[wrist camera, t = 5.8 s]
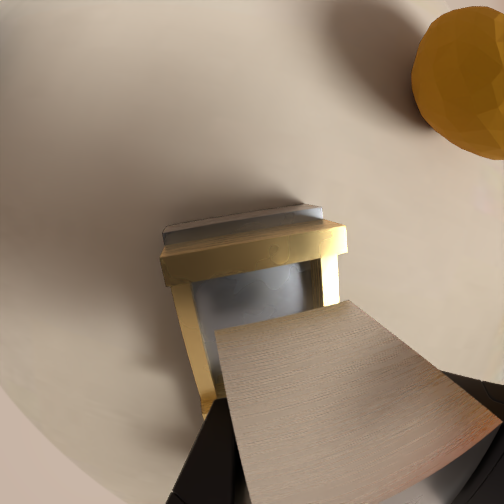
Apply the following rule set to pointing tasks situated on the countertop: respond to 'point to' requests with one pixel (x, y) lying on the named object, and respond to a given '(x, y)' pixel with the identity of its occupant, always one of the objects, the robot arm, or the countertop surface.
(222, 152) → the countertop surface
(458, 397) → the white block
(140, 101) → the countertop surface
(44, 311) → the countertop surface
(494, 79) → the apple
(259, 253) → the rail
